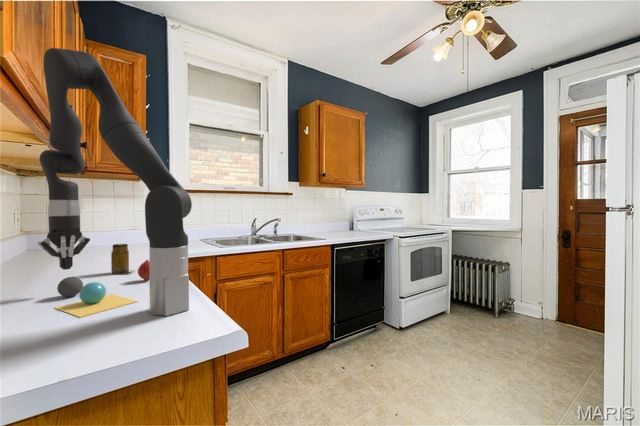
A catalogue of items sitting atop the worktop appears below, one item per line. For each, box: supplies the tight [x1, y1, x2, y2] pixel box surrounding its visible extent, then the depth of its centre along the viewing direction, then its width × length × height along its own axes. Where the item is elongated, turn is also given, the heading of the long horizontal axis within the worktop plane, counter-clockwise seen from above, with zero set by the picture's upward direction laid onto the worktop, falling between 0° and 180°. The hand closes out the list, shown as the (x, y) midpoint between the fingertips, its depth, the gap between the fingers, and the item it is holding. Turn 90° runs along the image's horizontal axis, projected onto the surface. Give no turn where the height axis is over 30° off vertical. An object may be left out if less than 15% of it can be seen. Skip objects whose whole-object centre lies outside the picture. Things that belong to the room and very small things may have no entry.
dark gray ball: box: [56, 276, 84, 298], centre depth 89 cm, size 6×6×6 cm
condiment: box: [106, 243, 138, 276], centre depth 121 cm, size 7×8×12 cm
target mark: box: [54, 294, 139, 318], centre depth 82 cm, size 14×14×1 cm
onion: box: [137, 259, 150, 282], centre depth 109 cm, size 6×6×8 cm
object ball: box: [78, 282, 107, 304], centre depth 83 cm, size 6×6×6 cm
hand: (66, 269), depth 92 cm, fingers closed
